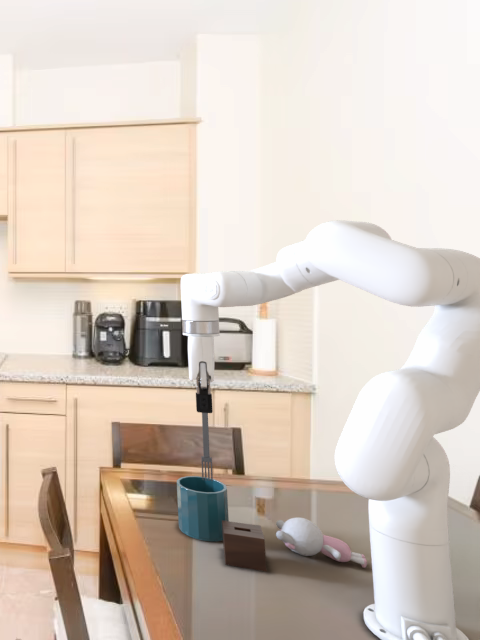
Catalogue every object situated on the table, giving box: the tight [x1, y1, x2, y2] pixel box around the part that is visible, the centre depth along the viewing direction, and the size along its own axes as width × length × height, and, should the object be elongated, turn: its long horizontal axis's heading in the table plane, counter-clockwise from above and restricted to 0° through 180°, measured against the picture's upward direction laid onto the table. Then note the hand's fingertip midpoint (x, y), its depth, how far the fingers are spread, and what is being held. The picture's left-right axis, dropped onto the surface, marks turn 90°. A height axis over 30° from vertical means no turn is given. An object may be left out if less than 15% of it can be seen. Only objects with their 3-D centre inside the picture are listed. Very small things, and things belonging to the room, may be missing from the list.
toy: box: [275, 517, 368, 569], centre depth 102 cm, size 8×7×15 cm
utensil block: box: [222, 520, 268, 572], centre depth 101 cm, size 6×7×6 cm
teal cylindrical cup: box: [176, 475, 230, 542], centre depth 114 cm, size 10×10×10 cm
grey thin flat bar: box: [200, 413, 214, 481], centre depth 113 cm, size 1×2×16 cm, turn 66°
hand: (204, 411), depth 113 cm, fingers closed
